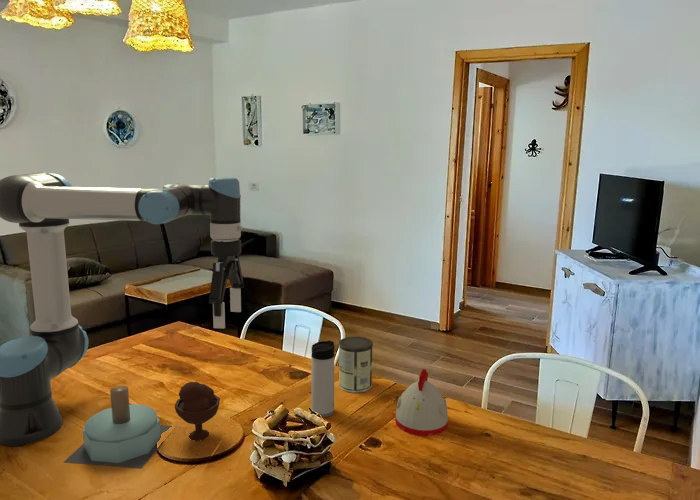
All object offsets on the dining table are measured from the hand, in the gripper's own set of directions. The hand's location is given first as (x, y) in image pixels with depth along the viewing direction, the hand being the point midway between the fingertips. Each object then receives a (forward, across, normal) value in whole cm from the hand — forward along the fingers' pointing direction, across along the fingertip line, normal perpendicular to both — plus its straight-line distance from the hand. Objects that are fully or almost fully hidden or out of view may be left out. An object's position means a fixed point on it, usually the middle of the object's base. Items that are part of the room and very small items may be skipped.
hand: (227, 319), depth 144 cm
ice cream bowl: (+28, -10, +5) cm, 30 cm away
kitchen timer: (+28, +4, -51) cm, 59 cm away
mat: (+28, -16, +22) cm, 39 cm away
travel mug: (+28, +7, -24) cm, 38 cm away
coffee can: (+28, +24, -32) cm, 49 cm away
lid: (+28, -16, +22) cm, 39 cm away
